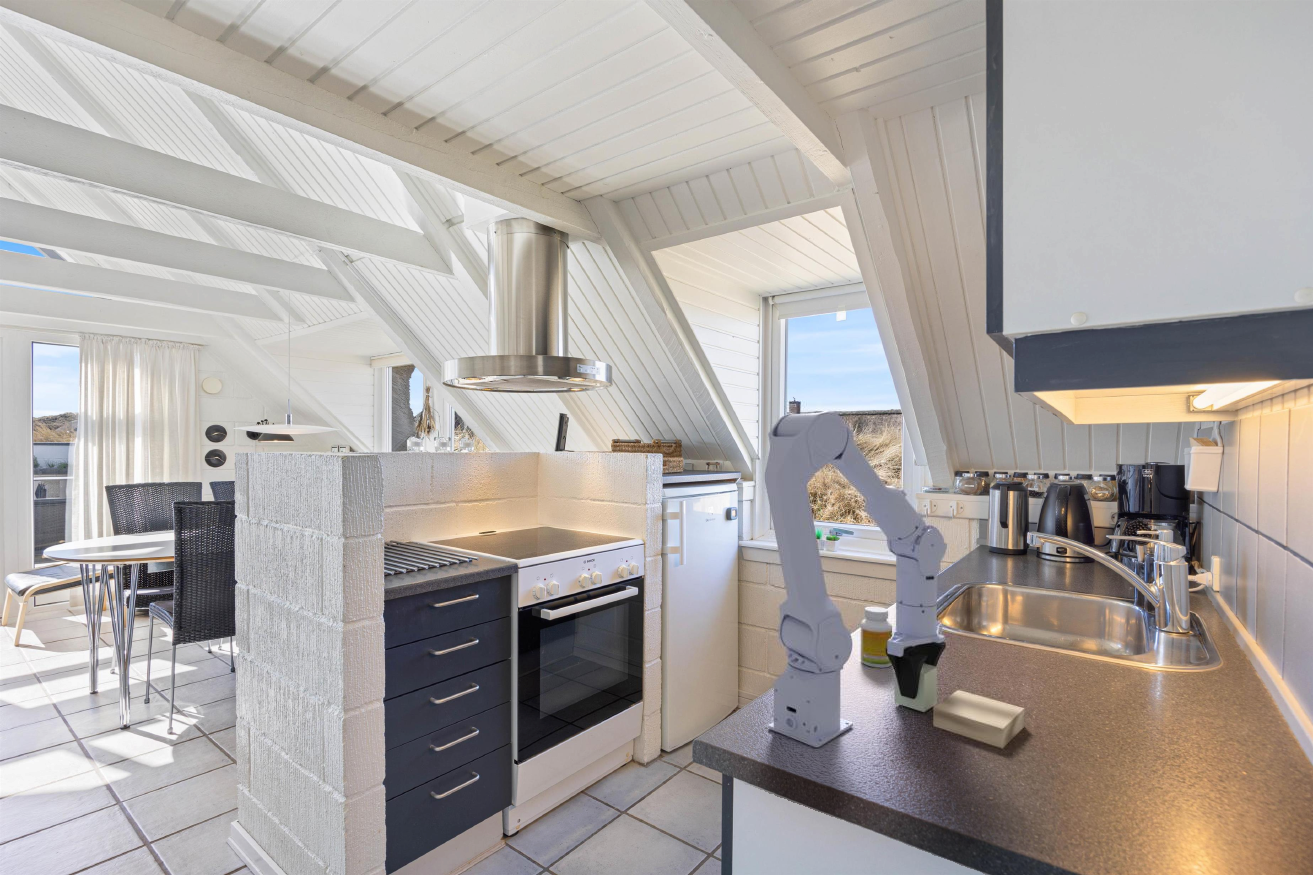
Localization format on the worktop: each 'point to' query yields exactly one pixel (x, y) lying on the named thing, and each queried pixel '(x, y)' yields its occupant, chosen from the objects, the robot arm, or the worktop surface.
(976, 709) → the oak base
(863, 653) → the supplement bottle
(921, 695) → the sage block
